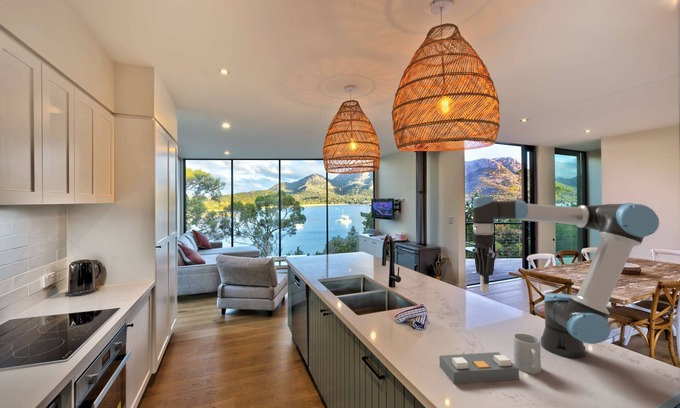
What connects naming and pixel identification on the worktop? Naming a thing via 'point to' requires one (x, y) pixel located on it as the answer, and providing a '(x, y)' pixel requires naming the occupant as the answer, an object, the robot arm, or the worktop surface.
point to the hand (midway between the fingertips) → (484, 291)
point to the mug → (527, 353)
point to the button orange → (481, 364)
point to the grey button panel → (467, 372)
